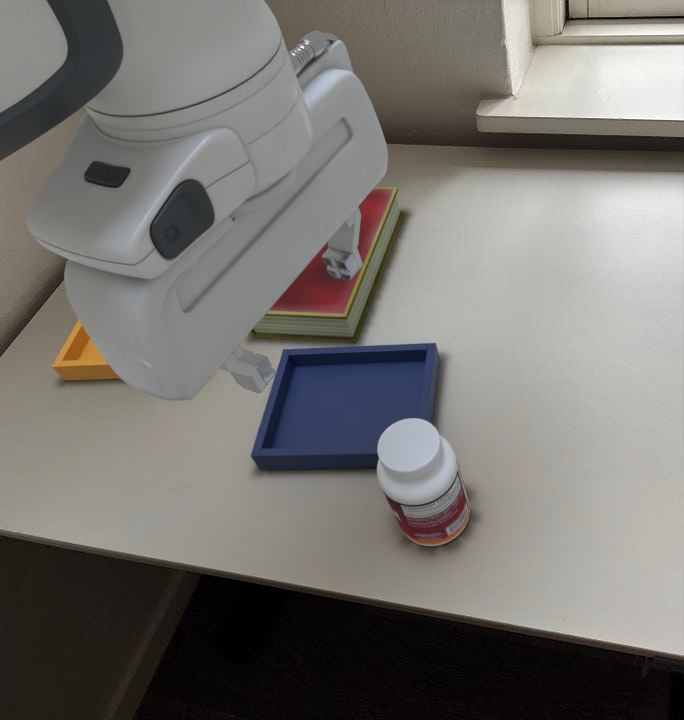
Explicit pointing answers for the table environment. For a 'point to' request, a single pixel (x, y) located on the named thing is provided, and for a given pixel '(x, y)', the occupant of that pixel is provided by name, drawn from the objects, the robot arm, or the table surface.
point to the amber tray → (82, 359)
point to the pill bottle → (422, 482)
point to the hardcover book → (337, 283)
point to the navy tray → (343, 404)
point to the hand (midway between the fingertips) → (305, 323)
